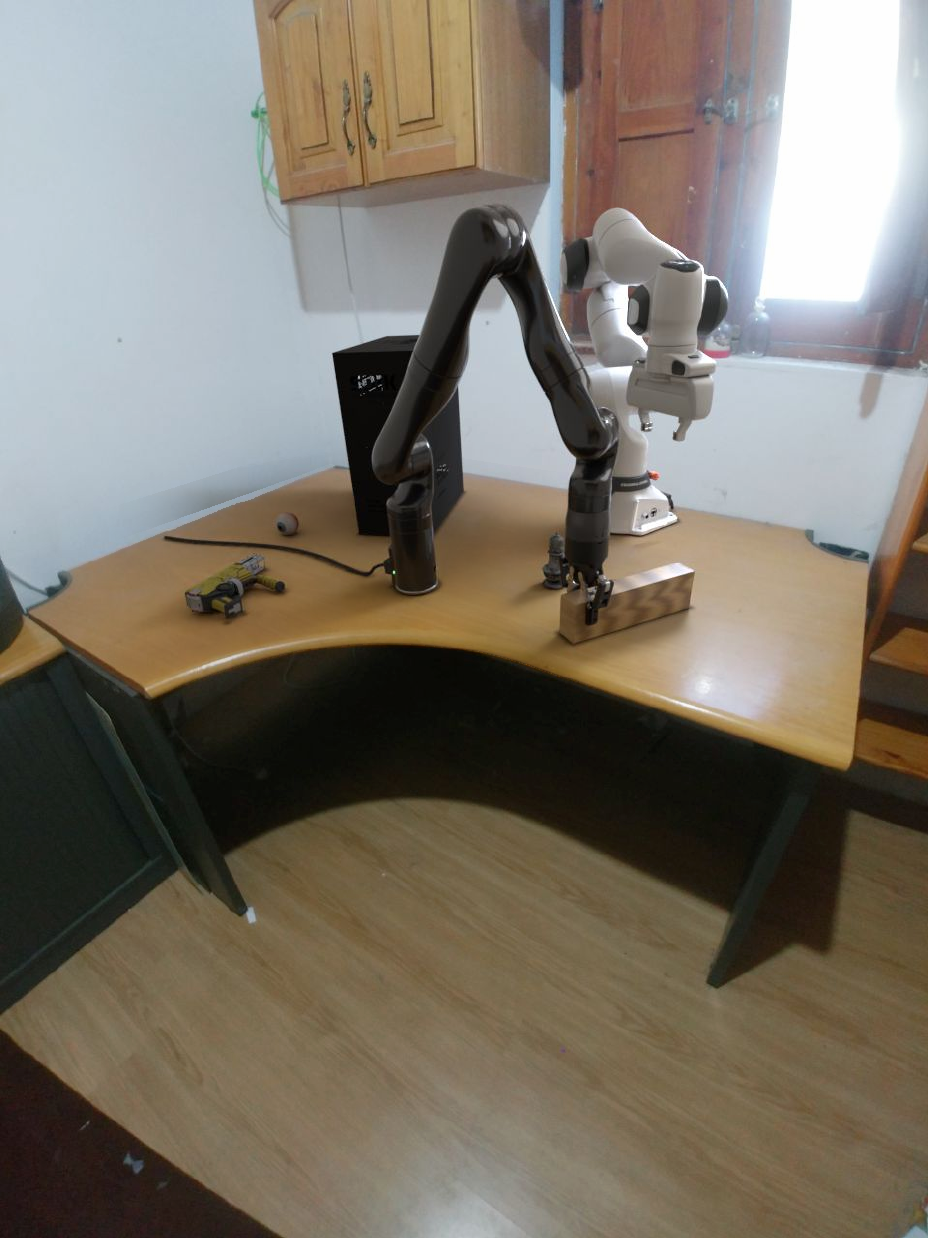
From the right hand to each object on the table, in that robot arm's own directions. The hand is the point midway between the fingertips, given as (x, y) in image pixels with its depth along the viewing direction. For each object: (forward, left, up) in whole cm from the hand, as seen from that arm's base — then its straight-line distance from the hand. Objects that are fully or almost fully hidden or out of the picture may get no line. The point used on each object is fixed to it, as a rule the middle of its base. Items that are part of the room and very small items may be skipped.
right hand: (661, 435), depth 119 cm
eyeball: (+67, -67, -30) cm, 99 cm away
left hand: (+27, +15, -26) cm, 41 cm away
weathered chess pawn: (+21, -5, -30) cm, 37 cm away
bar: (+17, +15, -30) cm, 37 cm away
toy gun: (+82, -35, -30) cm, 94 cm away
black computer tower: (+31, -65, -30) cm, 78 cm away
